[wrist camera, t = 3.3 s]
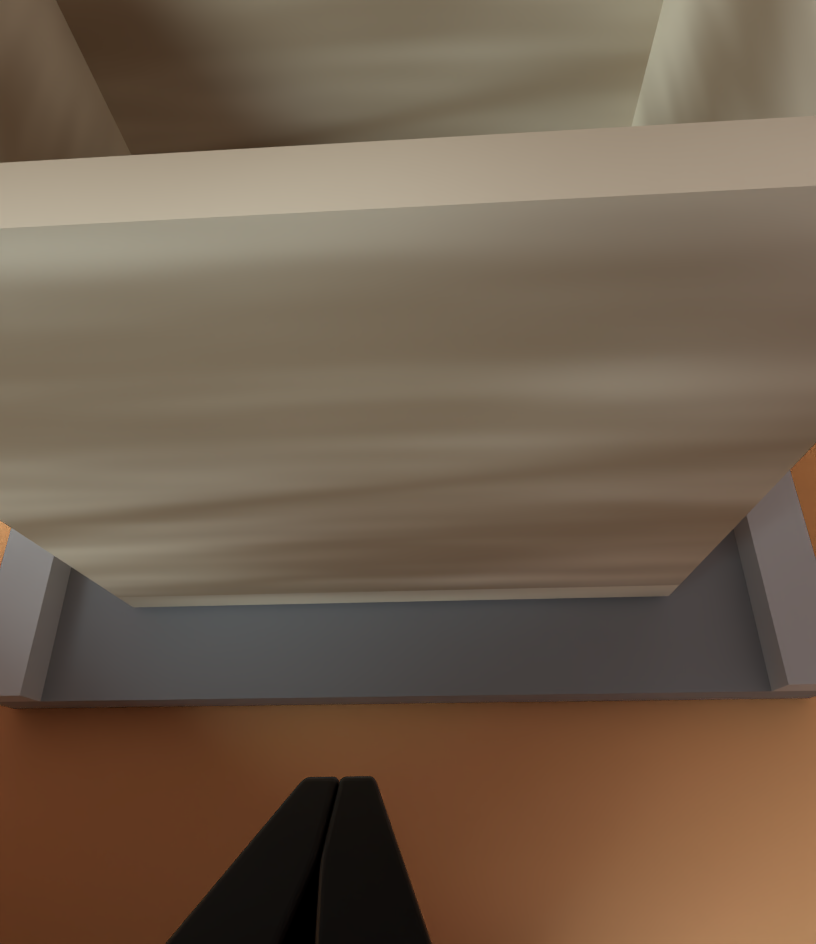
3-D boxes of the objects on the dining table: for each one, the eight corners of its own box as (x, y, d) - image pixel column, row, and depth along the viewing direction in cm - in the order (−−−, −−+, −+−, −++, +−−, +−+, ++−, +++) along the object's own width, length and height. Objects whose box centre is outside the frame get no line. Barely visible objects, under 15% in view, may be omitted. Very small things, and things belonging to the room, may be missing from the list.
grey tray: (809, 698, 15) (1062, 611, 9) (13, 708, 16) (-272, 638, 10) (646, 70, 25) (710, -180, 19) (163, 100, 26) (70, -128, 20)
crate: (668, 596, 15) (1076, 171, 5) (132, 607, 16) (-413, 250, 6) (611, 281, 19) (776, -289, 9) (189, 300, 20) (-76, -214, 10)
